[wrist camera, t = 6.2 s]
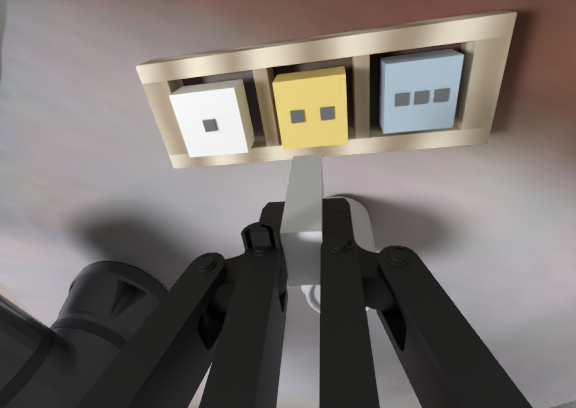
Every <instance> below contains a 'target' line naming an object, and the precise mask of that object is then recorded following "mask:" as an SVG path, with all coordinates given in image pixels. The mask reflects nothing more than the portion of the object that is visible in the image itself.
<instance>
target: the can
mask: <svg viewBox="0 0 576 408" xmlns="http://www.w3.org/2000/svg"><path fill="white" fill-rule="evenodd" d="M329 198H345V199H346V200H347V201H348V202H349V203H350V210H351V218H352V225H353V232H354V239H355V242H356V243H357V244H358V245H359V246H360V247H361V248H363V249H365V250H367V251H371V252H375V253H376V249H375V244H374V238H373V233H372V227H371V222H370V217H369V214H368V212H367V210H366V209H365V208H364V207H363V206H362V205H361V204H360V203H359V202H357V201H355V200H353V199H351V198H346V197H341V196H339V197H329ZM326 199H327V198H326ZM301 289H302V291H303V292H304V294H305V295H306V299H307V302H308V303H309V305H310V306H311V307H312V308H313V309H314V310H316V311H317V312H318V313H320V285H301ZM369 309H370V308H368V307H366V312H367V311H368V310H369Z"/></svg>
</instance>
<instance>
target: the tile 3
mask: <svg viewBox="0 0 576 408" xmlns="http://www.w3.org/2000/svg"><path fill="white" fill-rule="evenodd" d="M463 58H464V54H462V53H459V52H457V51H455V50H453V49H445V50H437V51H429V52H421V53H413V54H406V55H398V56H390V57H382V58H380V97H379V123H380V126H381V128H382V131H383V133H384V134H385V133H396V132H407V131H418V130H430V129H441V128H452V127H453V123H454V116H455V110H456V104H457V97H458V91H459V84H460V78H461V71H462V65H463Z"/></svg>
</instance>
